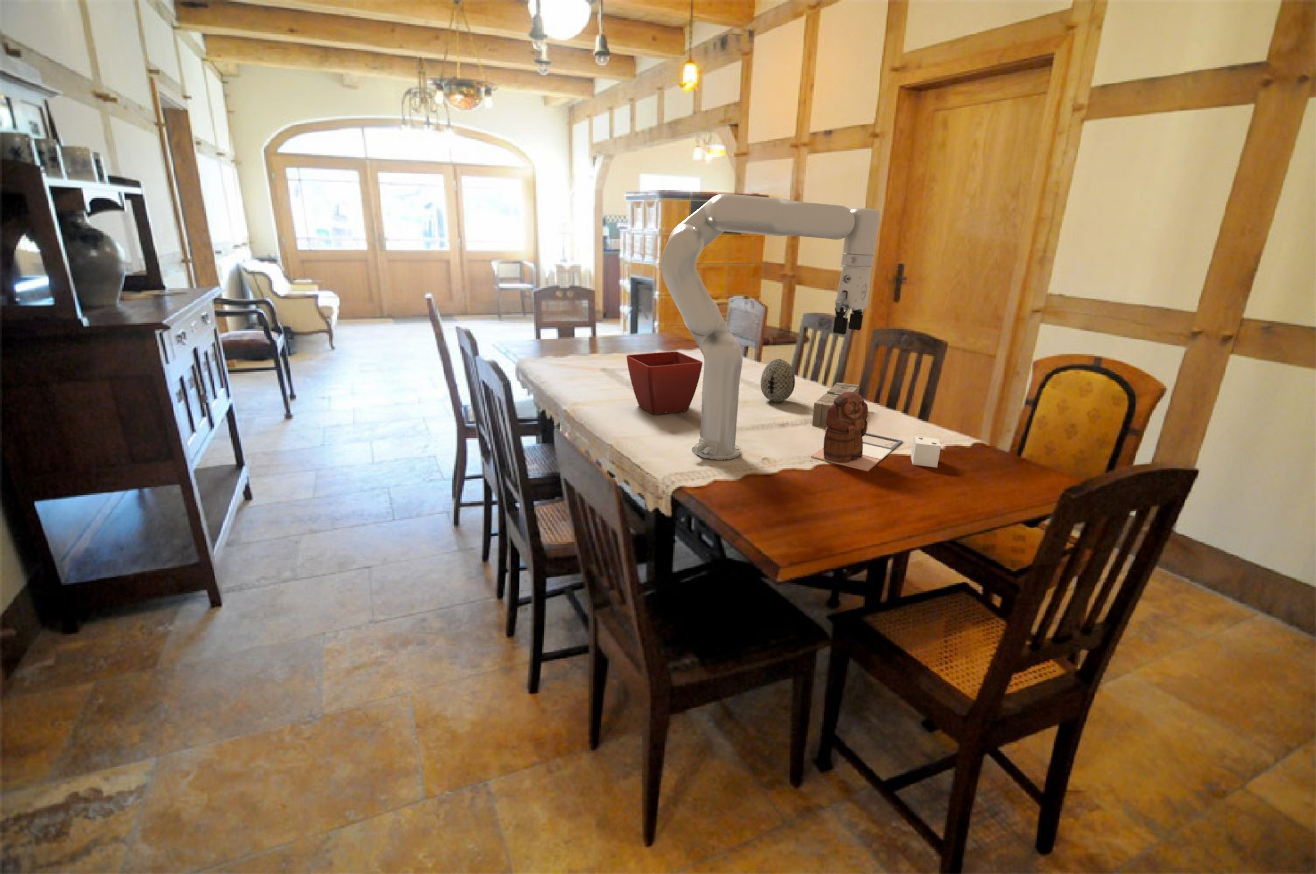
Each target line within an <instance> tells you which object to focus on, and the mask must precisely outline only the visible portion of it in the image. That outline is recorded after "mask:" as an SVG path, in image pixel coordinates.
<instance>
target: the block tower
mask: <svg viewBox="0 0 1316 874" xmlns="http://www.w3.org/2000/svg"><path fill="white" fill-rule="evenodd" d="M859 390H860V385H859V384H852V383H845V382H844V383H843V382H835V384H833V386H832V387H831V388H829V390H827V392H826V393H825V394H823V395H822V396H821V397H819V399H817V400H816V401H815V402H814V403H813V411H812V412H813V413H812V423H811V426H813V427H819V428H826V429H827V428H828V426H827V424H826V422H825V421H826V416H827V410H828V408H829V407H830V406H831V405H833V404H834V403H833V402H834V400H835V399H836V397H838V396H839V395H840V394H842V393H844V392H855V393H857V394H859Z"/></svg>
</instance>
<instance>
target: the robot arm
mask: <svg viewBox="0 0 1316 874" xmlns="http://www.w3.org/2000/svg"><path fill="white" fill-rule="evenodd" d="M880 221H881V214H880V211H879V210H877V209H875V208H865V207H864V208H861V207H859V208H852V209H849V208H848V207H847V206H845V205H838V204H828V203H827V204H826V203H816V202H806V201H797V200H790V199H789V200H788V199H785V198H779V197H778V198H777V197H767V196H765V197H764V196H755V195H746V194H743V195H742V194H734V193H719V194H716V195H714V196H712V197H711V198H710V199H708V201H706V202H705V203H704V204H703V205H702V206H701V207H700V208H698V209H697V210H696V211H694V212H693V213H692V214H691V215H690V216H688V217H687V218H686V219H684V220H683V221H682V222H681V223H679V224H678V225H677V226H675V227H674V229H672V231H671V232H670V234H669V237H668V240H667V242H666V244H665V247H664V249H663V251H662V255H661V263H660V269H661V276H662V279H663V282H664V284H665V286H666V289H667V291H668V293H669V295H670V296H671V298H672V300H673V302H674V304H675V306H676V308H677V310H678V311H679V313H680V315H681V318H682V320H683V323H684V325H685V326H686V328H687V330H688V331H689V333H690V335H691V336H692V338H693V340H694V342H695V343H696V345H697V347H698V349H699V350H700V352H701V353H702V356H703V359H704V360H703V362H704V363H703V364H704V365H703V366H704V367H703V377H702V390H701V391H702V392H701V414H700V432H699V433H700V435H699V438H698V443H696V444H695V445H693V447H691V452H692V453H693V454H695V455H697V456H698V455H699V456H698V457H701V458H703V459H707V458H710V459H709V460H713V459H716V460H715V461H726V460H725V459H728V460H732V458H733V459H735V458H738V457H739V456H740V455H741V452H742V451H741V447H739V445H737V444H736V441H737V440H736V438H737V423H738V413H739V412H738V411H739V409H738V408H739V394H740V393H739V391H740V380H741V375H742V370H743V369H742V367H743V358H744V357H743V351H742V348H741V346H740V344H739V342H738V341H737V340H736V338H735V337H734V335H733V333H732V332H731V330H730V327H729V326H728V324H727V323H726V320H725V318H724V317H723V315H722V314H721V313H722V312H721V311H720V308H719V306H718V304H717V303H716V302H715V301H714V299H713V298H712V297H711V295H710V293H709V291H708V289H707V288H706V286H705V284H704V282H703V280H702V278H701V275H700V274H699V272H698V269H697V262H698V258H699V257H700V255H701V254H702V252H703V250H704V249H705V248H706V247H708V245H710V244H711V243H712V242H713V241H715V240H716V239H717V238H718V237H720V236H721V235H722V234H723V233H724V232H729V233H739V234H740V233H741V234H743V233H744V234H753V235H764V236H774V237H788V236H789V237H804V238H815V239H816V238H817V239H828V240H837V241H838V240H842V239H843V240H844V241H843V247H842V248H843V249H842V253H841V261H840V268H842V269H841V274H840V278H839V283H838V288H837V294H836V299H835V304H834V305H835V307H834V311H835V313H834V319H833V320H834V323H833V329H832V332H833V333H834V334H839V335H846V334H847V328H848V329H849V330H855V331H861V330H862V324H863V318H864V314H865V309H866V308H867V307H868V306H869V301H870V292H871V280H872V270H873V266H874V260H875V255H876V254H875V253H876V247H877V241H878V240H877V239H878V234H879V229H880V228H879V226H880ZM850 310H851V313H850ZM848 315H849V317H848ZM720 459H721V460H720ZM723 459H724V460H723Z"/></svg>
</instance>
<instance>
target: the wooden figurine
mask: <svg viewBox="0 0 1316 874" xmlns="http://www.w3.org/2000/svg"><path fill="white" fill-rule="evenodd" d="M833 403H834V404H833V405H831V406H830V407H829V408H828V410H827V416H826V421H825V422H826V424H827V426H828V428H826V430H825V433H824V437H823V448H824V459H826V460H829V461H833V462H839V463H847V462H849V461H853V460H857V457H862V454H863V442H864V440H863V437H865V436H866V435H865V434H866V433H867V430H868V423H869V421H868V414H869V407H868V404H867V403H866V402H865V400H864V398H863V397H862V395H860V394H859V393H855V392H844V393H842V394H840V395H839V396H838V397H836V399H835V400H834V402H833Z"/></svg>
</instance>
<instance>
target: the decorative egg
mask: <svg viewBox="0 0 1316 874" xmlns="http://www.w3.org/2000/svg"><path fill="white" fill-rule="evenodd" d="M795 377H796V375H795V371H794V369H793V367H792V366H791V364H790V363H789V362H788V361H786V360H784V359H783V358H782V359H781V358H778V359H777V358H776V359H773V360H772V361H770V362H769V363H768V364H766V366H765V367H764V369H763V371H762V374H761V376H760V389H761V393H762V394H763V396H764V397H765V398H766V400H769V401H770V402H773V403H779V402H783V401H785V400H787V399H788V398H789V397H790V396H792V394H793V392H794V390H795V386H796V378H795Z"/></svg>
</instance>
